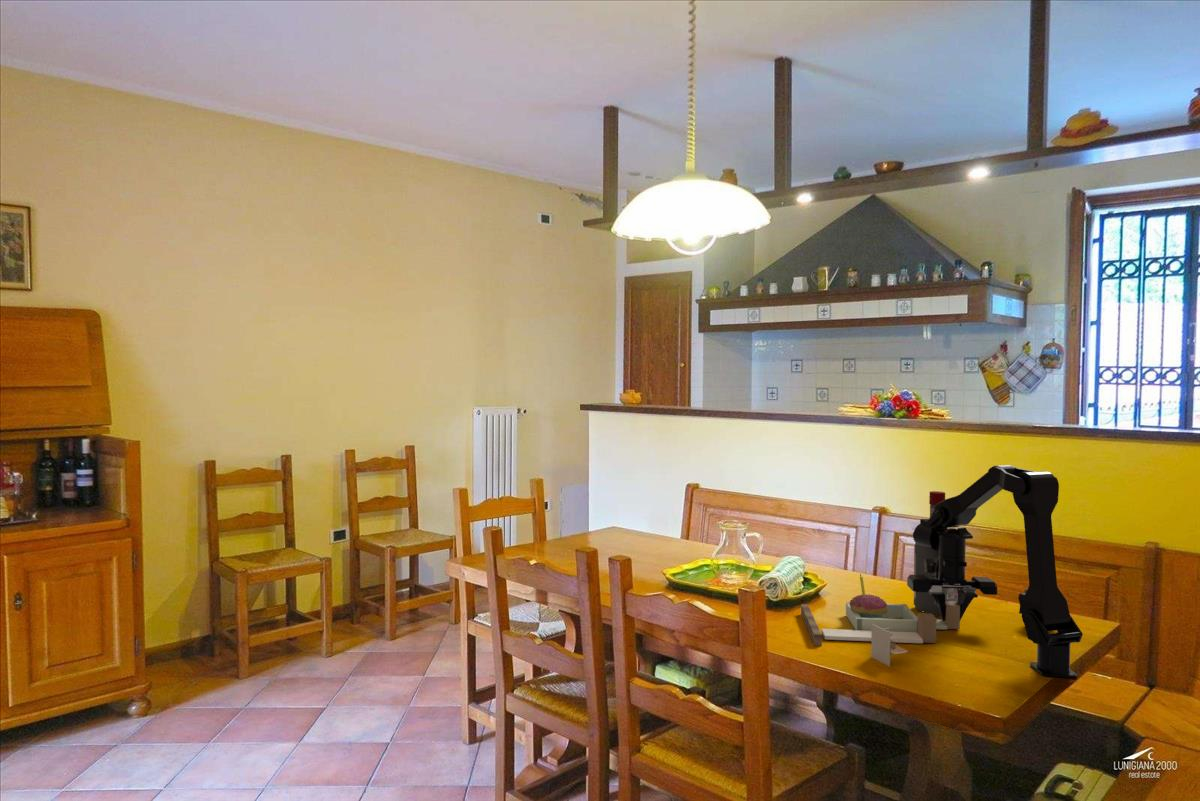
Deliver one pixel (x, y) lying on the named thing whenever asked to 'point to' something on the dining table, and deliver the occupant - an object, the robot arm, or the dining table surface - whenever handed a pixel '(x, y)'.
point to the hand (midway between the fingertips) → (950, 620)
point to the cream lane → (891, 632)
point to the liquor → (925, 599)
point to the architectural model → (883, 645)
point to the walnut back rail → (811, 625)
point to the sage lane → (904, 618)
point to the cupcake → (868, 604)
